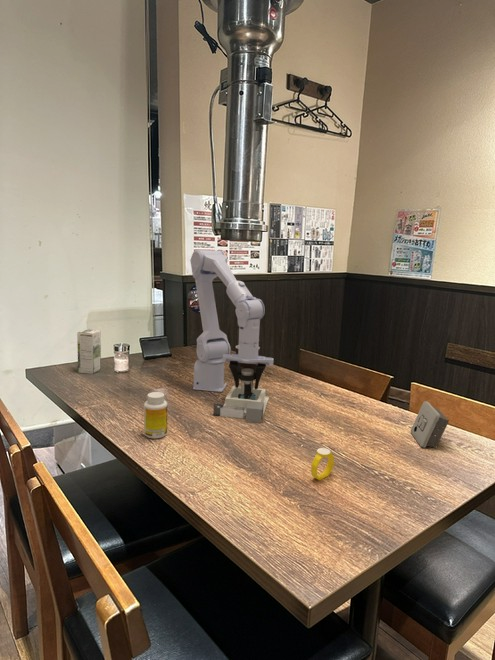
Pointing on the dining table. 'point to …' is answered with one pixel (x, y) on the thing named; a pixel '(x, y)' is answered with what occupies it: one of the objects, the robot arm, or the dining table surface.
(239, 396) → the push button
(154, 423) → the supplement bottle
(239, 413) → the pin
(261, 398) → the dock
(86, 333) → the syrup box
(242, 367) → the coffee mug
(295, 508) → the dining table surface
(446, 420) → the electrical switch
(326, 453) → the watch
